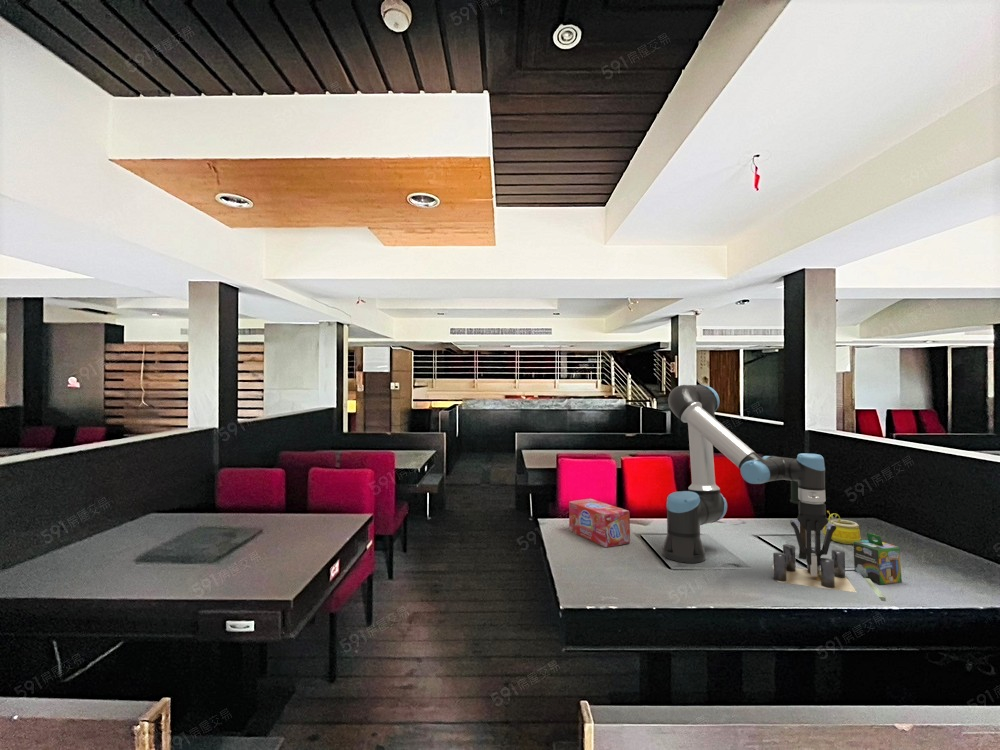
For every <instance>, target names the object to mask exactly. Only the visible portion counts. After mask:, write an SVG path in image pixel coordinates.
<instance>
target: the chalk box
mask: <svg viewBox="0 0 1000 750" xmlns="http://www.w3.org/2000/svg"><path fill="white" fill-rule="evenodd" d="M866 536H867V537H866V538H867V539H864V540H863V539H862V540H861V541H856V542H853V544H852V547H853V562H854V566H853V567H854V572H855V573H858V574H859V575H860V576H861V577H862V578H863V579H864V578H869V579H870V580H871V581H872V582H873V583H874V584H875V585H879V586H881V585H888V584H889V585H890V584H897V583H902V582H903V581H902V566H901V565H902V564H901V552H900V551H901V548H900V546H897V545H894V544H891V543H888V542H884V541H882V537H881V535H878V534H874V533H871V532H866ZM873 538H874V539H873Z"/></svg>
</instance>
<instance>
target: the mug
mask: <svg viewBox="0 0 1000 750" xmlns="http://www.w3.org/2000/svg"><path fill="white" fill-rule="evenodd" d="M826 514H829V516H828V517H827V519H828V522H829V523H831V524H834V525H835V526H836V530H835V531H834V532H833V534H832V538H831V541H834V542H836V543H838V544H839V543H840V544H845V545H853V542H856V541H862V540H861V539H862V537H861V531H860V527H859V526H860V525H859V524H858V523H857V522H855V521H852V520H847V519H841V517H840V515H839V514H838V513H830V510H826ZM833 515H834V516H833ZM837 517H838V518H837ZM826 527H827V525H826V526H825V527H824V528H823V529H822V531H823V535H824V536H825V535H826V530H827V528H826Z"/></svg>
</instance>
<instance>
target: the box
mask: <svg viewBox="0 0 1000 750" xmlns="http://www.w3.org/2000/svg"><path fill="white" fill-rule="evenodd" d="M568 504H569V505H568V506H569V507H568V510H569V511H568V513H569V516H568V517H569V518H568V519H569V521H568V522H569V523H568V524H569V525H568V526H569V527H568V532H571V533H573V534H574V535H576V536H580V537H582V538H584V539H587V540H589V541H590V542H593V543H595V544H597V545H598V546H599V545H600V546H602V547H604V548H612V547H616V546H621V545H627V544H631V523H630V522H631V520H630V519H631V517H630V511H629V510H627V509H624V508H622V507H618V506H615V505H612V504H608V503H606V502H602V501H599V500H596V499H593V498H586V499H578V500H577V499H576V500H571V501H569V503H568Z"/></svg>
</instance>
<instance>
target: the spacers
mask: <svg viewBox="0 0 1000 750" xmlns="http://www.w3.org/2000/svg"><path fill="white" fill-rule="evenodd" d="M830 551H831V558H829V557H821V558H820V566H817V570H820V571H821V585H822V586H824V587H827V588H835V577H838V578H845V576H846V553H845V551H843V550H840V549H831V550H830ZM811 553H813V554H815V546H814V547H813V546H811ZM772 558H773V564H772V565H774V570H773V580H775V581H782V582H785V581H787V576H786V571H790V572H795V571H796V568H797V567H796V563H797V561H796V546H795V545H792V544H783V545H782V552H773V555H772ZM806 568H807V569H806V570H807V572H808V573H810V574H811V571H810V565H809V564H807V563H806ZM782 582H781V583H782ZM827 588H826V589H827Z"/></svg>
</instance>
